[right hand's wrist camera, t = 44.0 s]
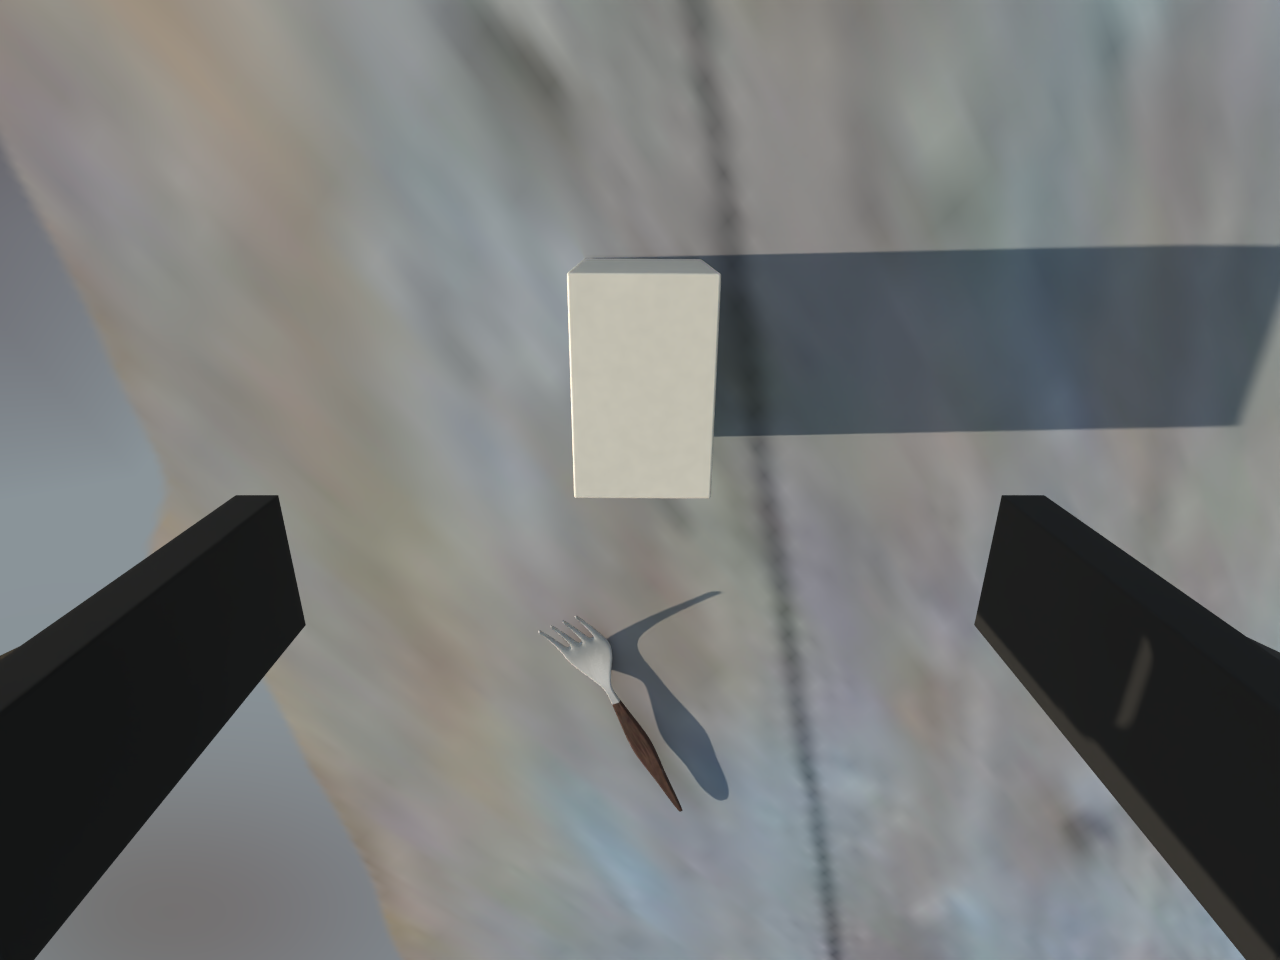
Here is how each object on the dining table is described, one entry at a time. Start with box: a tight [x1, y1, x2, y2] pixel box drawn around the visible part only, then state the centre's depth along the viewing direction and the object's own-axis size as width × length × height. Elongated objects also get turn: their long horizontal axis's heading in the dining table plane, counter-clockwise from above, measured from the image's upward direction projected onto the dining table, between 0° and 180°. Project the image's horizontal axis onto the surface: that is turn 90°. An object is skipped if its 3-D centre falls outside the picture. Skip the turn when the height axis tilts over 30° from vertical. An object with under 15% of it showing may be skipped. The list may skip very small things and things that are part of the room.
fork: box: [538, 615, 682, 811], centre depth 38 cm, size 3×16×2 cm, turn 25°
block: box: [567, 258, 721, 498], centre depth 28 cm, size 5×8×8 cm, turn 0°
